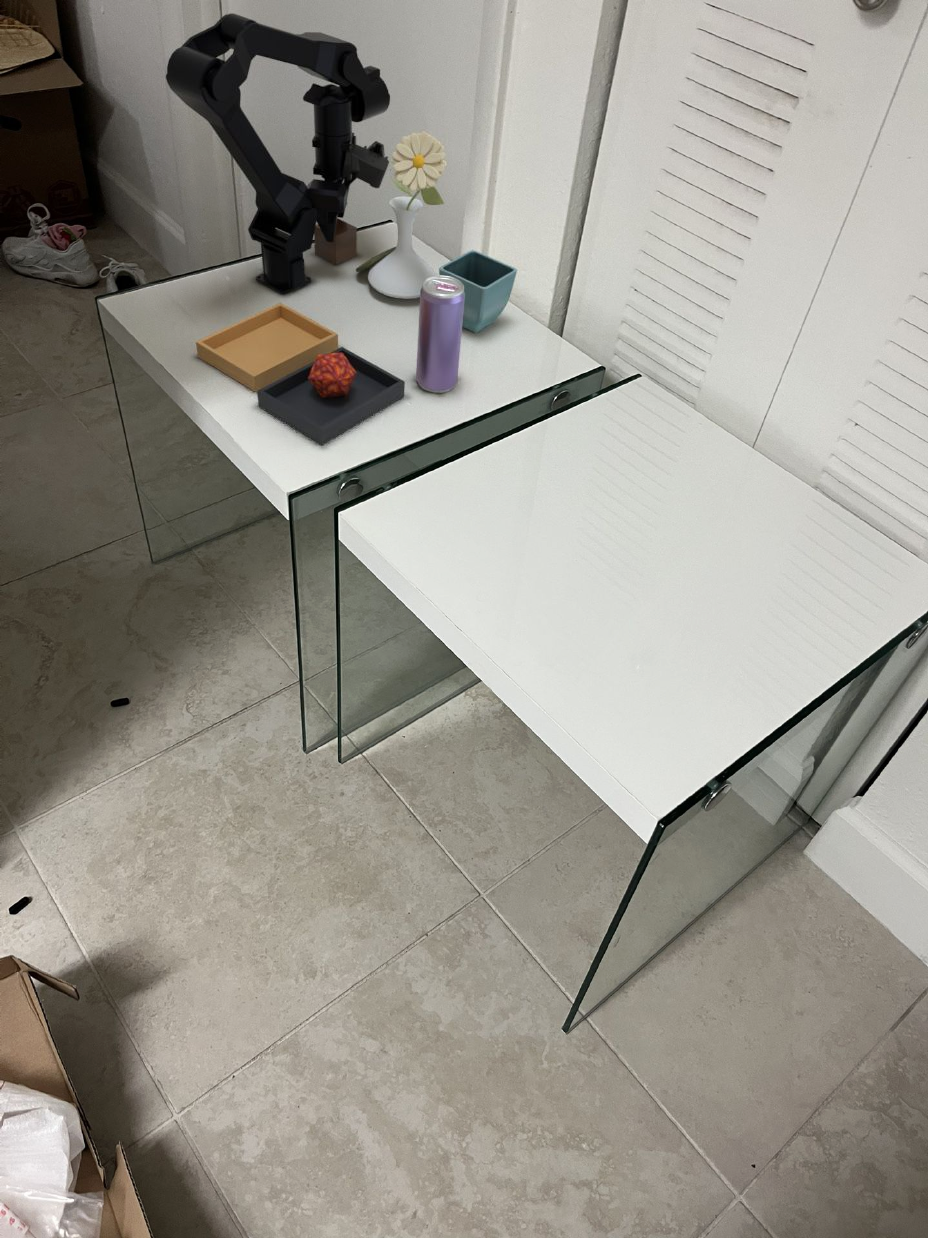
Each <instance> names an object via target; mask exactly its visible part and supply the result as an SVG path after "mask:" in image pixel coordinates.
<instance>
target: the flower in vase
mask: <svg viewBox="0 0 928 1238" xmlns="http://www.w3.org/2000/svg"><path fill="white" fill-rule="evenodd" d="M444 151H445V146H444V145H443V144H442V143H441V141H439V140H438V139H437V138H435V137H434V136H433V135H430V134H429V133H427V131H424V130H423V131H421V132H418V133H416V132H412V133H411V134H409V135H408V136H407V135H404V136H402V137H401V140H400V142H399V143H397V144H396V146H395V151H393V152H392V155H391V156H392V157H391V159H390V160H391V163H392V164H393V165H392V170H393V171H395V172H394V174H393V176H394V177H393V176H392V175H391V176H390V178H391V180H392V183H393V184H394V185H395V186H396V187H397V189H399V190H401V191H402V192H403V193H405V194H407V195H409V196H405V195H403V196H396V197H394V198H391V199H390V200H389V206H390V207H391V209H392V210H393V212H394V215H395V219H396V224H397V225H396V226H397V243H396V246H397V247H396V246H395V247H396V249H395V250H394V251H393V252H392V253H390V254H389V255H387V256H385V257H384V258H382V259H380V260H379V261H378V262H377V263H376V264H374V265H373V266H372V267H371V268H369V269H370V270H369V272H368V274H367V280H368V282H369V284H370V285H371V287H372V288H373V289H374V290H375V291H377V292H378V293H380V294H382V295H384V296H387V297H391V298H397V299H404V300H405V299H406V300H407V299H409V300H410V299H419V298H420V291H421V288H422V283H423V281H424V280H425V279H427V278H429V277H432V276H439V274H438V273H437V271H436V270H435V268H434V267H433V266H432V264H430V263H429V262H428V261H427V260H425V258H423V257H421V256H420V255H419V254H418V253H417V252H416V251H415V250H414V248H413V247H414V246H413V232H414V231H413V229H414V224H415V220H416V217H417V215H418V213H419V212H420V210H422V208H423V204H426V205H428V206H440V205H444V204H445V202H444V200H443V198H442V196H441V194H440V193H439V191H438V189H437V188H436V187H435V185H436V184H437V183H438V182H439V178H441V177H442V176H443V172H444V171H445V168H446V167H447V161H446V160H445V159H446V153H445V152H444ZM394 178H395V179H394ZM411 192H415V193H414V195H413V194H412V193H411ZM419 194H421V198H422V200H423V202H424V203H423V202H422V201H421V200H419V199H418V198H416V197H417V196H418V195H419Z"/></svg>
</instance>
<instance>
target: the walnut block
mask: <svg viewBox="0 0 928 1238" xmlns="http://www.w3.org/2000/svg"><path fill="white" fill-rule="evenodd" d="M313 242H314V255H315V256H316V257H318V258H320V259H323V260H324V261H327V262H328V263H330V264H332V265H334V266H338V265H341V264H343V263H345V262H347V261H350V260H352V259H353V258H356V257H357V256H358V227H357V226H355V225H352V224H350V223H348V222H346V221H344V220H342V219H341V218H339V217H338V218H337V224H336V230H335V237H334V241H333V242H327V241H326V239H325V237H324V235H323V233H322V231H321V229H320V227H319V225H318V224H316V226H315V231H314V236H313Z"/></svg>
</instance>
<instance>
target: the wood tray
mask: <svg viewBox="0 0 928 1238" xmlns="http://www.w3.org/2000/svg"><path fill="white" fill-rule="evenodd" d="M195 346H196V354H197V357H198V359H201V360H202V361H204V362H205V363H207V364H209V365H210V366H212V367H213V368H216V369H217V370H218V371H220V372H222V373H223V374H225V375H227V376H228V377H230V378H232V379H233V380H235V381H237V382H238V383H240V384H242V385H243V386H245V387H246V388H248V389H250V390H252V391H253V392H255V393H257V391H258V390H260V389H262V388H264V387H266V386H268V385H270V384H271V383H273V382H275V381H277V380H279V379H281V378H283V377H285V376H287V375H289V374H291V373H293V372H295V371H296V370H298V369H300V368H302V367H304V366H306V365H308V364H310V363H312V362H314V361H315V360H316V358H317V355H321V354H329V353H331V352H333V351H335V350H337V349H339V334H338V333H337V332H335V331H334V330H332V329H330V328H328V327H325V326H324V325H322V324H320V323H319V322H316V321H315V320H313V319H312V318H310V317H308V316H306V315H304V314H303V313H300V312H298V311H297V310H295V309H293V308H292V307H290V306H288V305H286V304H284V303H282V302H279V303H277V304H275V305H272V306H270V307H267V308H265V309H263V310H262V311H258V312H257V313H255V314H253V315H251V316H248V317H246V318H243V319H242V320H239V321H237V322H235V323H233V324H231V325H229V326H227V327H224V328H222V329H220V330H217V331H215V332H214V333H212V334H209V335H206V336H204V337H203V338H200V339H198V340H196V341H195Z"/></svg>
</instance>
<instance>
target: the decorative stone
mask: <svg viewBox="0 0 928 1238" xmlns="http://www.w3.org/2000/svg"><path fill="white" fill-rule="evenodd" d="M355 375H356V371H355V370H354V369H353V367H352V366H351V364H350V363H349V361H348V360H347V358H346V357H345V356H344V354H343V353H342V352H341V353H331V354H321V355H317V358H316V360H315V362H314V365H313V367H312V369H311V372H310V374H309V377H308V379H309V380H310V382H311V383H312V384H313V386H314V387H315V389H316V390H317V391H318V393H319V394H320V396H321V397H322V398H330V397H339V396H347V394H348V391H349V389H350V387H351V384H352V382H353V380H354V378H355Z"/></svg>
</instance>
